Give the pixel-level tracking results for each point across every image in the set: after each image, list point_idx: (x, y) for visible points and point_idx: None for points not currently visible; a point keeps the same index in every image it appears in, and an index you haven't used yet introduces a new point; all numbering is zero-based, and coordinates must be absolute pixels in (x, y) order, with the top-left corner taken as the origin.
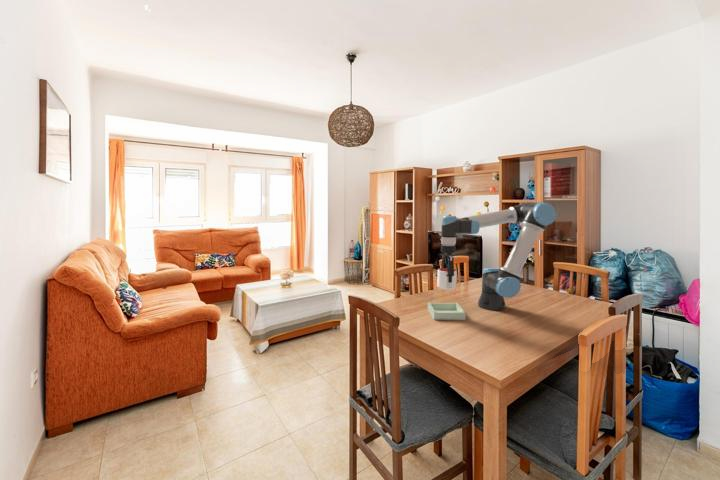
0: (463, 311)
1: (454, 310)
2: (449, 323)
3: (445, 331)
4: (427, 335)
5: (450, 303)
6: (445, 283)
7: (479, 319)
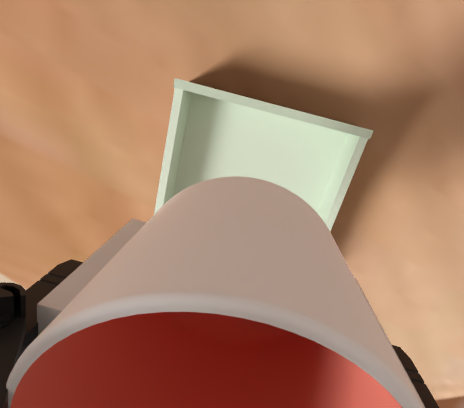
0: (350, 133)
1: (212, 110)
2: (365, 229)
3: (439, 290)
4: (440, 364)
5: (177, 125)
6: (320, 359)
7: (377, 30)
